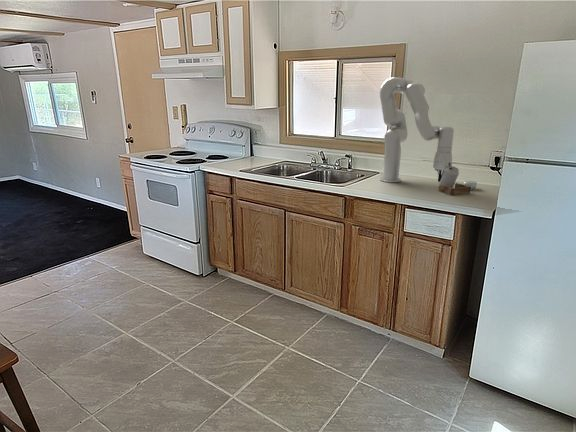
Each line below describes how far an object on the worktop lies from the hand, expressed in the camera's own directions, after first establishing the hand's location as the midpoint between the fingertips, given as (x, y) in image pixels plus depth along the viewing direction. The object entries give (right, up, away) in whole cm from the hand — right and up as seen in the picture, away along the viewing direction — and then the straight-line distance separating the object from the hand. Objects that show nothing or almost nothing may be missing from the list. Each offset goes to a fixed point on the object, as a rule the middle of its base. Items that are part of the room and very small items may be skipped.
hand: (441, 181), depth 224 cm
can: (+1, -3, -3) cm, 5 cm away
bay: (+3, -6, -9) cm, 11 cm away
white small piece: (+15, -4, -3) cm, 16 cm away
